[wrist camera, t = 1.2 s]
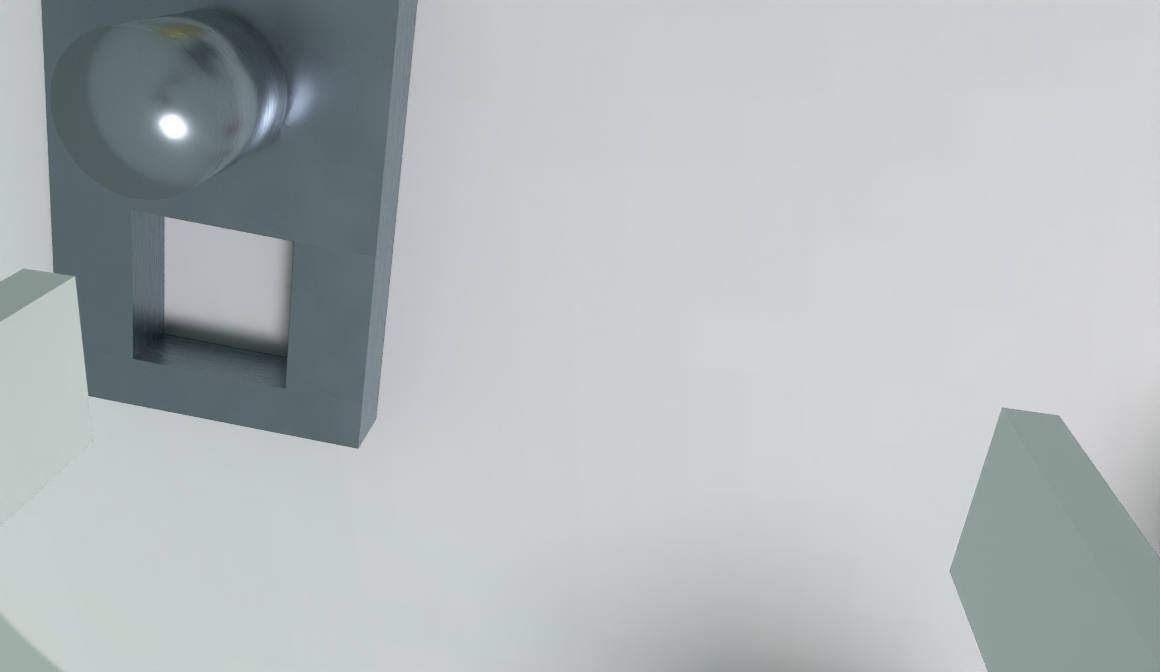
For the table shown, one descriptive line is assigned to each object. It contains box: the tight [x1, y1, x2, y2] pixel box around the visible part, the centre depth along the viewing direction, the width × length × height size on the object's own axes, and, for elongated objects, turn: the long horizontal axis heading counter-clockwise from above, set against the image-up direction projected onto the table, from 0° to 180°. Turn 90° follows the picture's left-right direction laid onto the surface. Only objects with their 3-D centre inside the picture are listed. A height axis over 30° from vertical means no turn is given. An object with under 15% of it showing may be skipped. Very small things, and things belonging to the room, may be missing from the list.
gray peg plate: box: [41, 0, 417, 448], centre depth 34 cm, size 18×12×8 cm, turn 170°
